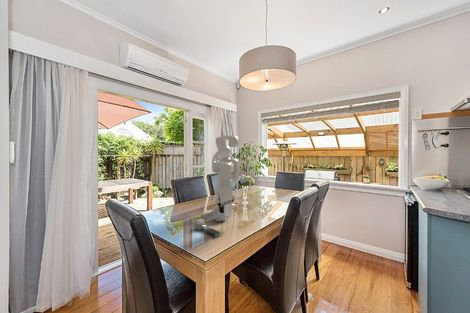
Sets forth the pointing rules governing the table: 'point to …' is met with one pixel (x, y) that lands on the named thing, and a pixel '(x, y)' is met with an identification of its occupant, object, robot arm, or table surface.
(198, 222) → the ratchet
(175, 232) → the table surface
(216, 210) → the teacup
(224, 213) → the wood-topped grey cube
